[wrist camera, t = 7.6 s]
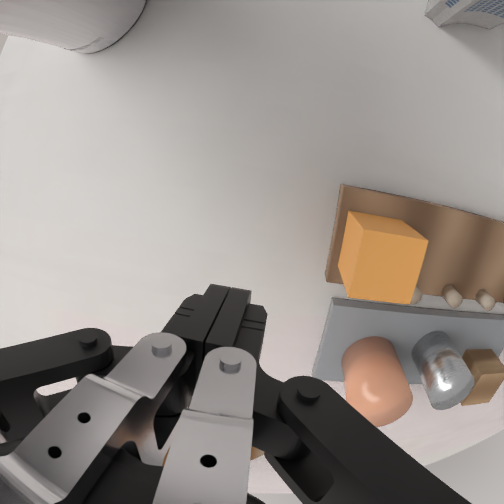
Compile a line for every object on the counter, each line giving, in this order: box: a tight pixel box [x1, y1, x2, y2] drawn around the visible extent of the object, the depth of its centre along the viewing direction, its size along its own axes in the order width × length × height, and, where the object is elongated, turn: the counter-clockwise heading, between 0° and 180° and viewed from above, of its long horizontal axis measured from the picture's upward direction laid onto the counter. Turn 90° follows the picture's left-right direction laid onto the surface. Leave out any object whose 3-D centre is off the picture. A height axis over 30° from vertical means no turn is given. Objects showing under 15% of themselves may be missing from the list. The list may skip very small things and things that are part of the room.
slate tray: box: [312, 298, 504, 384], centre depth 23 cm, size 8×21×1 cm, turn 84°
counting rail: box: [325, 185, 504, 311], centre depth 19 cm, size 23×7×3 cm, turn 84°
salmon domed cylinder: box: [341, 336, 413, 427], centre depth 21 cm, size 5×5×6 cm
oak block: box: [460, 349, 504, 406], centre depth 21 cm, size 4×4×4 cm
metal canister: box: [412, 331, 474, 410], centre depth 20 cm, size 4×4×6 cm
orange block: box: [338, 211, 428, 304], centre depth 18 cm, size 4×4×5 cm
